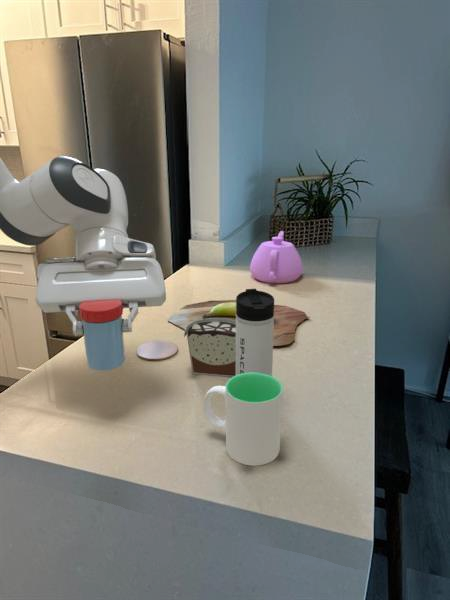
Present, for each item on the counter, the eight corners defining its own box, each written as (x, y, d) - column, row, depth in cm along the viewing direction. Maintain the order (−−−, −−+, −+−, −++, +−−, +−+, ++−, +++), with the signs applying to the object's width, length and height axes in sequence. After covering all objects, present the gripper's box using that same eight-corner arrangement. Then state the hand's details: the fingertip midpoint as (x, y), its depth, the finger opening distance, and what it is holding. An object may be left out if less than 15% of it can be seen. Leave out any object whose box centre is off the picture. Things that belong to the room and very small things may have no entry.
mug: (193, 450, 64) (190, 389, 60) (215, 419, 71) (214, 363, 67) (270, 471, 60) (273, 407, 56) (285, 437, 67) (288, 378, 63)
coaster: (136, 362, 90) (136, 360, 90) (136, 344, 98) (136, 342, 98) (179, 358, 91) (179, 356, 91) (176, 340, 100) (176, 338, 99)
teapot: (300, 288, 135) (302, 245, 130) (244, 285, 138) (245, 243, 133) (303, 267, 158) (306, 230, 153) (255, 265, 161) (256, 228, 156)
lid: (77, 324, 63) (76, 312, 63) (83, 308, 69) (81, 298, 69) (121, 321, 64) (121, 309, 64) (123, 306, 70) (122, 295, 70)
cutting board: (315, 310, 117) (316, 297, 116) (293, 353, 93) (293, 337, 92) (197, 296, 129) (197, 283, 128) (151, 330, 105) (150, 316, 104)
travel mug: (265, 389, 80) (268, 287, 73) (275, 410, 73) (279, 300, 67) (232, 393, 79) (232, 289, 72) (239, 414, 72) (240, 302, 66)
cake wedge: (250, 363, 89) (251, 318, 86) (246, 378, 83) (247, 331, 80) (192, 358, 91) (191, 315, 88) (185, 373, 86) (183, 326, 82)
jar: (85, 372, 66) (78, 315, 63) (89, 354, 72) (83, 301, 69) (124, 369, 67) (120, 312, 64) (126, 351, 73) (121, 299, 70)
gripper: (32, 248, 68) (27, 329, 63) (162, 244, 72) (168, 320, 66) (42, 268, 74) (38, 344, 68) (162, 263, 77) (168, 335, 72)
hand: (103, 332), depth 67 cm, fingers closed on jar, 6 cm apart
